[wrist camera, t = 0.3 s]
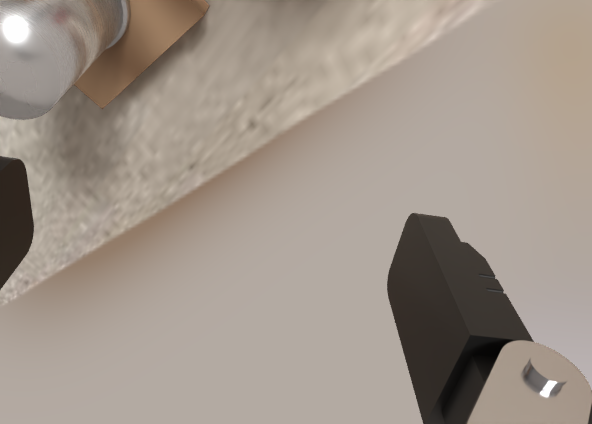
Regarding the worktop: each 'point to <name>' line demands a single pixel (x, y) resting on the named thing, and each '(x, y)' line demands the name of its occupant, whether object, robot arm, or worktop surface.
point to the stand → (139, 45)
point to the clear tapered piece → (52, 48)
